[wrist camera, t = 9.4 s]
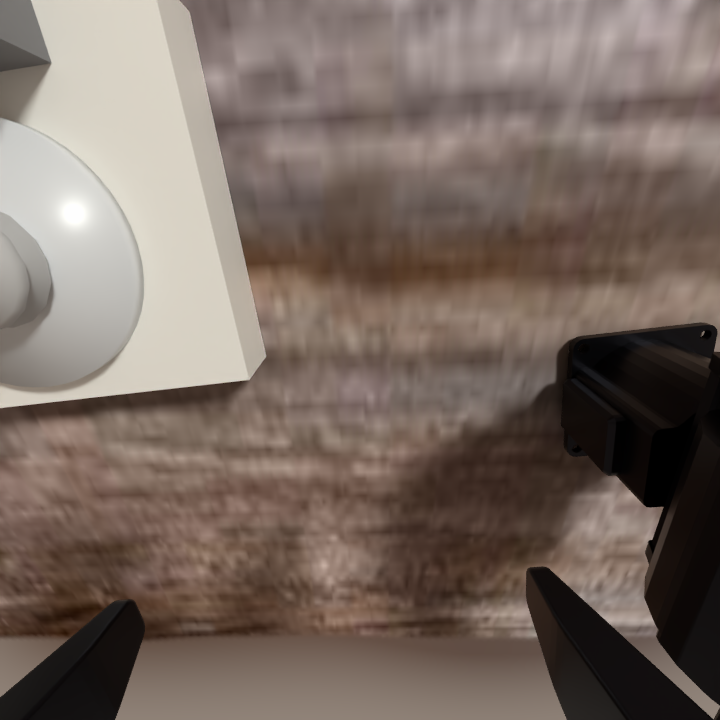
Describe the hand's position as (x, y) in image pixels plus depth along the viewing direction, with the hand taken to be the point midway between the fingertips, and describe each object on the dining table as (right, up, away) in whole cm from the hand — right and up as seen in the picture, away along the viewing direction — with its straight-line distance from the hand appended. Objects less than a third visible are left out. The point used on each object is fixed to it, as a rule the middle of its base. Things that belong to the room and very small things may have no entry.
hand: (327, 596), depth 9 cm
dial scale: (-13, +11, +9) cm, 19 cm away
